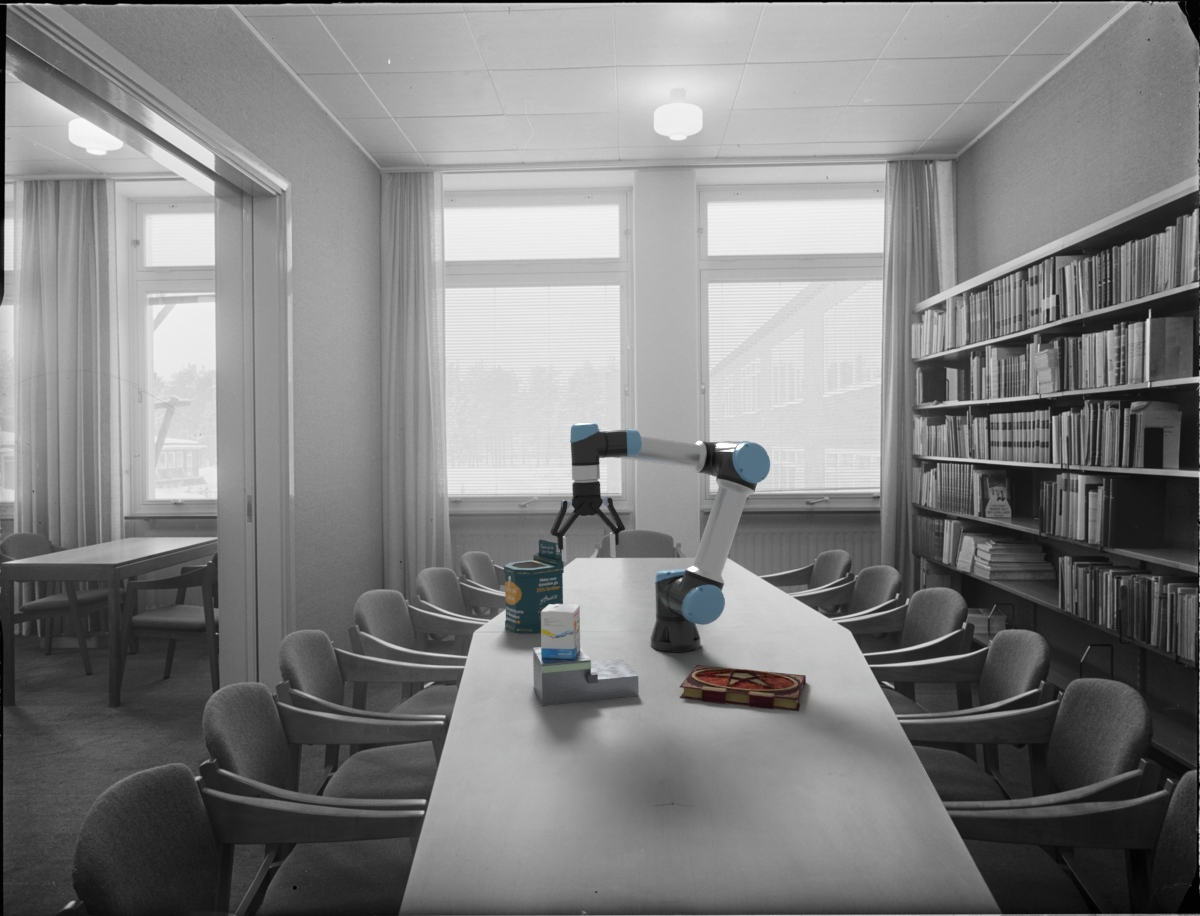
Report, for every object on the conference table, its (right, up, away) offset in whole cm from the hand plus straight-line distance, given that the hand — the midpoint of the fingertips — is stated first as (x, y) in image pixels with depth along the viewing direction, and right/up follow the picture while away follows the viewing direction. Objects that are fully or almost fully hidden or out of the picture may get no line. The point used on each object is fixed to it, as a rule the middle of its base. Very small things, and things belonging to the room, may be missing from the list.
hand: (588, 559), depth 201 cm
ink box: (-7, -22, -15) cm, 27 cm away
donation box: (-20, -30, +49) cm, 61 cm away
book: (+39, -32, -14) cm, 52 cm away
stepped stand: (-1, -31, -14) cm, 35 cm away
